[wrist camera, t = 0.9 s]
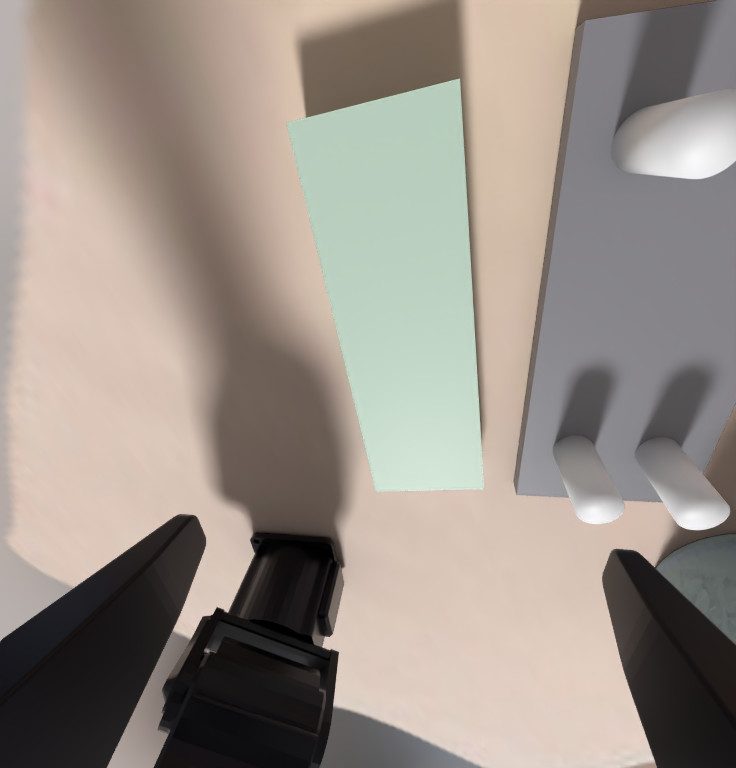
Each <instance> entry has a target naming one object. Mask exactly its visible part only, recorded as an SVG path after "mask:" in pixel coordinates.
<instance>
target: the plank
mask: <svg viewBox="0 0 736 768" xmlns="http://www.w3.org/2000/svg"><path fill="white" fill-rule="evenodd" d="M286 124H287V128H288V132H289V136H290V140H291V144H292V149H293V153H294V157H295V161H296V165H297V169H298V173H299V177H300V181H301V186H302V190H303V194H304V198H305V202H306V206H307V210H308V214H309V218H310V223H311V227H312V231H313V235H314V239H315V243H316V247H317V251H318V256H319V260H320V264H321V268H322V272H323V276H324V280H325V284H326V288H327V293H328V297H329V301H330V305H331V309H332V313H333V317H334V321H335V325H336V330H337V334H338V338H339V342H340V346H341V350H342V354H343V358H344V362H345V367H346V371H347V375H348V379H349V383H350V387H351V391H352V395H353V399H354V404H355V408H356V412H357V416H358V420H359V424H360V428H361V432H362V437H363V441H364V445H365V449H366V453H367V457H368V461H369V465H370V469H371V474H372V478H373V482H374V486H375V490H376V492H382V491H424V490H467V489H484V482H483V465H482V448H481V431H480V413H479V396H478V379H477V362H476V345H475V327H474V310H473V293H472V276H471V259H470V242H469V224H468V207H467V190H466V173H465V156H464V138H463V121H462V104H461V87H460V78H459V79H455V80H452V81H448V82H444V83H440V84H436V85H432V86H428V87H424V88H420V89H416V90H413V91H409V92H405V93H401V94H397V95H393V96H389V97H385V98H381V99H377V100H374V101H370V102H366V103H362V104H358V105H354V106H350V107H346V108H342V109H338V110H334V111H331V112H327V113H323V114H319V115H315V116H311V117H307V118H303V119H299V120H295V121H292V122H288V123H286Z"/></svg>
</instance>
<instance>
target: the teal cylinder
mask: <svg viewBox="0 0 736 768" xmlns="http://www.w3.org/2000/svg"><path fill="white" fill-rule="evenodd" d="M656 569H657V570H658V571H659V572H660V573H661V574H662V575H663V576H664V577H665V578H666V579H667V580H668V581H669V582H670V583H671V584H673V585H674V586H675V587H676V588H677V589H678V590H679V591H680V592H681V593H682V594H683V595H684V596H685V597H686V598H687V599H688V600H689V601H690V602H692V603H693V604H694V605H695V606H696V607H697V608H698V609H699V610H700V611H701V612H702V613H703V614H704V615H705V616H706V617H707V618H708V619H709V620H710V621H712V622H713V623H714V624H715V625H716V626H717V627H718V628H719V629H720V630H721V631H722V632H723V633H724V634H725V635H726V636H727V637H728V638H729V639H730V640H732V641H733V642H734V643H735V644H736V534H726V535H719V536H714V537H709V538H706V539H702V540H699V541H695V542H693V543H690V544H688V545H686V546H683V547H681V548H679V549H677V550H675V551H674V552H672V553H671V554H670V555H668V556H667V557H666V558H664V559H663V560H662V561H661V562H660V564H659V565H658V566H657V567H656Z"/></svg>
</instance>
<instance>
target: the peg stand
mask: <svg viewBox="0 0 736 768" xmlns="http://www.w3.org/2000/svg"><path fill="white" fill-rule="evenodd" d="M735 404H736V0H716V1H710V2H703V3H696V4H690V5H683V6H676V7H670V8H663V9H657V10H650V11H643V12H637V13H630V14H624V15H617V16H610V17H604V18H597V19H590V20H585V21H584V22H583V23H582V24H581V25H580V26H578V27H577V28H576V31H575V38H574V46H573V53H572V60H571V68H570V75H569V82H568V89H567V97H566V104H565V111H564V119H563V126H562V133H561V141H560V148H559V155H558V163H557V170H556V177H555V185H554V192H553V199H552V207H551V214H550V221H549V229H548V236H547V243H546V251H545V258H544V265H543V273H542V280H541V287H540V294H539V302H538V309H537V316H536V324H535V331H534V338H533V346H532V353H531V360H530V368H529V375H528V382H527V390H526V397H525V404H524V412H523V419H522V426H521V434H520V441H519V448H518V456H517V463H516V470H515V478H514V486H515V490H516V494H517V495H527V496H547V497H566V498H570V500H571V503H572V505H573V508H574V511H575V513H576V515H577V517H578V518H579V519H581V520H582V521H584V522H587V523H591V524H604V523H608V522H611V521H614V520H615V519H617V518H618V517H620V516H621V515H622V513H623V512H624V509H625V504H624V501H623V500H625V501H645V502H663V503H664V504H665V506H666V507H667V509H668V511H669V512H670V514H671V515H672V517H673V518H674V520H675V521H676V523H677V524H678V525H679V526H681V527H683V528H685V529H689V530H705V529H709V528H713V527H715V526H717V525H719V524H721V523H722V522H724V521H725V520H726V519H727V518H728V516H729V514H730V507H729V505H728V504H727V503H726V502H725V500H724V499H723V498H722V497H721V495H720V494H719V493H718V492H717V491H716V489H715V488H714V487H713V486H712V485H711V483H710V482H709V481H708V480H707V479H706V477H705V476H704V475H703V473H704V471H705V469H706V467H707V465H708V463H709V460H710V458H711V456H712V454H713V452H714V450H715V447H716V445H717V443H718V441H719V439H720V437H721V434H722V432H723V430H724V428H725V426H726V424H727V421H728V419H729V417H730V415H731V413H732V411H733V408H734V406H735Z"/></svg>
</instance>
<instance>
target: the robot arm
mask: <svg viewBox="0 0 736 768" xmlns="http://www.w3.org/2000/svg"><path fill="white" fill-rule="evenodd" d="M250 541H251V544H252V547H253V549H254V552H255V555H254V557H253V559H252V562H251V564H250V566H249V568H248V570H247V572H246V575H245V577H244V579H243V581H242V583H241V585H240V588H239V590H238V592H237V594H236V596H235V599H234V601H233V603H232V605H231V607H230V609H229V612H228V613H227V612H225V611H224V609H221V608H218V607H217V608H216V610H215V612H214V614H213V615H211V616H203V617H202V619H201V621H200V623H199V625H198V627H197V629H196V631H195V633H194V635H193V637H192V639H191V640H190V642H189V644H188V646H187V648H186V649H185V651H184V653H183V654H182V656H181V657H180V659H179V661H178V662H177V664H176V666H175V667H174V669H173V670H172V672H171V674H170V675H169V677H168V679H167V681H166V683H165V684H164V687H163V689H162V693H163V697H164V702H165V705H164V707H163V710H162V713H164V714H163V717H162V719H161V721H160V724H159V727H158V731H161V732H164V733H167V734H169V735H168V737H167V739H166V742H165V744H164V747H163V748H162V750H161V753H160V755H159V757H158V759H157V761H156V764H155V766H154V768H319V766H320V764H321V761H322V758H323V755H324V752H325V748H326V744H327V740H328V736H329V730H330V725H331V719H332V711H333V702H334V692H335V683H336V674H337V664H338V655H339V652H338V651H335V650H332V649H331V650H328V649H325V648H322V646H323V641H324V637H325V636H326V637H330V636H331V635H332V634H333V631H334V627H335V622H336V618H337V613H338V609H339V604H340V599H341V595H342V590H343V586H344V580H343V575H342V570H341V565H340V563H339V562H338V561H337V559H336V554H335V549H334V544H333V541H332V540H330V539H328V538H317V537H304V536H291V535H278V534H265V533H254V534H253V535H252V537H251V539H250ZM205 546H206V537H205V534H204V532H203V529H202V527H201V525H200V522H199V520H198V518H197V517H196V516H195V515H187V514H179V515H177V516H175V517H173V518H172V519H170V520H169V521H168V522H166V523H165V524H163V525H162V526H161V527H159V528H158V529H156V530H155V531H154V532H152V533H151V534H149V535H148V536H147V537H145V538H144V539H142V540H141V541H139V542H138V543H137V544H135V545H134V546H132V547H131V548H130V549H128V550H127V551H125V552H124V553H123V554H121V555H120V556H118V557H117V558H116V559H114V560H113V561H111V562H110V563H109V564H107V565H106V566H104V567H103V568H102V569H100V570H99V571H97V572H96V573H94V574H93V575H92V576H90V577H89V578H87V579H86V580H85V581H83V582H82V583H80V584H79V585H78V586H76V587H75V588H73V589H72V590H71V591H69V592H68V593H67V594H65V595H64V596H62V597H61V598H59V599H58V600H57V601H55V602H54V603H52V604H51V605H50V606H48V607H47V608H45V609H44V610H42V611H41V612H40V613H38V614H37V615H36V616H34V617H33V618H31V619H30V620H28V621H27V622H26V623H24V624H23V625H21V626H20V627H19V628H17V629H16V630H14V631H13V632H12V633H10V634H9V635H7V636H6V637H4V638H3V639H2V640H1V641H0V768H107V766H108V764H109V762H110V760H111V758H112V755H113V753H114V751H115V748H116V747H117V745H118V743H119V741H120V739H121V736H122V735H123V733H124V730H125V728H126V726H127V724H128V722H129V720H130V718H131V716H132V714H133V712H134V709H135V708H136V705H137V703H138V701H139V699H140V697H141V695H142V693H143V691H144V689H145V686H146V685H147V683H148V681H149V678H150V676H151V674H152V672H153V670H154V668H155V666H156V664H157V662H158V659H159V658H160V656H161V653H162V651H163V649H164V647H165V645H166V643H167V641H168V639H169V637H170V635H171V633H172V631H173V629H174V626H175V624H176V622H177V620H178V618H179V616H180V613H181V611H182V608H183V606H184V603H185V601H186V598H187V595H188V593H189V590H190V587H191V585H192V582H193V579H194V577H195V574H196V571H197V569H198V566H199V563H200V561H201V558H202V555H203V553H204V550H205ZM602 582H603V588H604V592H605V597H606V601H607V605H608V609H609V613H610V617H611V621H612V626H613V630H614V634H615V638H616V642H617V646H618V651H619V655H620V659H621V662H622V666H623V670H624V673H625V676H626V679H627V682H628V686H629V688H630V691H631V694H632V697H633V700H634V703H635V706H636V708H637V711H638V714H639V717H640V720H641V723H642V726H643V728H644V731H645V734H646V737H647V740H648V743H649V746H650V749H651V751H652V754H653V757H654V760H655V763H656V766H657V768H736V644H735V643H734V642H733V641H732V640H730V639H729V638H728V637H727V636H726V635H725V634H724V633H723V632H722V631H721V630H720V629H719V628H718V627H717V626H716V625H715V624H714V623H713V622H712V621H710V620H709V619H708V618H707V617H706V616H705V615H704V614H703V613H702V612H701V611H700V610H699V609H698V608H697V607H696V606H695V605H694V604H693V603H692V602H690V601H689V600H688V599H687V598H686V597H685V596H684V595H683V594H682V593H681V592H680V591H679V590H678V589H677V588H676V587H675V586H674V585H673V584H671V583H670V582H669V581H668V580H667V579H666V578H665V577H664V576H663V575H662V574H661V573H660V572H659V571H658V570H657V569H656V568H655V567H654V566H653V565H651V564H650V563H649V562H648V561H647V560H646V559H645V558H644V557H643V556H642V555H641V554H640V553H638V552H636V551H633V550H624V549H614V550H612V551H611V553H610V556H609V558H608V561H607V564H606V566H605V569H604V572H603V576H602ZM209 650H211V651H214V652H217V653H214V652H209Z"/></svg>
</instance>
